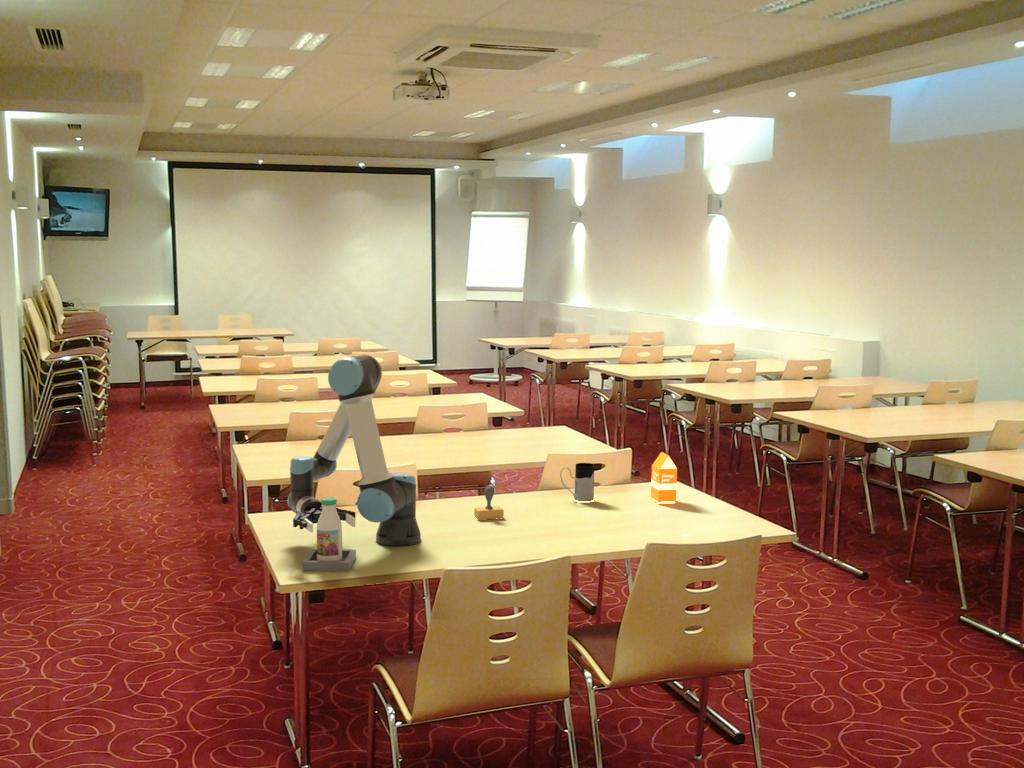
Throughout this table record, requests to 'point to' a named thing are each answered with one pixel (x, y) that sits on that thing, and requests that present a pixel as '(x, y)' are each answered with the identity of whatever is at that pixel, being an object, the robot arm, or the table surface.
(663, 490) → the orange juice
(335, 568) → the tray
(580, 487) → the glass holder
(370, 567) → the table surface
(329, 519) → the milk bottle
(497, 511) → the rubber stamp
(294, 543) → the table surface
